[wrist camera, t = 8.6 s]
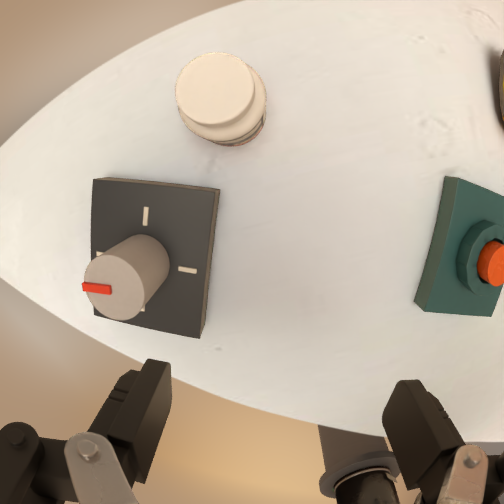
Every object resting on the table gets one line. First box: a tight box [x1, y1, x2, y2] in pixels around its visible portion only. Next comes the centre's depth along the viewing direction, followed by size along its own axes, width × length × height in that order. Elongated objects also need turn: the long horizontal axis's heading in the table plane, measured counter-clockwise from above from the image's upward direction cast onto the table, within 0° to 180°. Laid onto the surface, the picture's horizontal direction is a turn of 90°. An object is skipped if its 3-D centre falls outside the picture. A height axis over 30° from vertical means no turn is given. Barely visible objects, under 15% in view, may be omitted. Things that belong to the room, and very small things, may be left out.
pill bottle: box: [175, 52, 266, 146], centre depth 17 cm, size 5×5×9 cm
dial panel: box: [91, 177, 220, 339], centre depth 23 cm, size 12×10×3 cm
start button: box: [477, 241, 504, 286], centre depth 19 cm, size 4×4×2 cm
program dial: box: [82, 234, 170, 320], centre depth 19 cm, size 4×4×6 cm
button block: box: [414, 176, 504, 317], centre depth 22 cm, size 12×10×4 cm
